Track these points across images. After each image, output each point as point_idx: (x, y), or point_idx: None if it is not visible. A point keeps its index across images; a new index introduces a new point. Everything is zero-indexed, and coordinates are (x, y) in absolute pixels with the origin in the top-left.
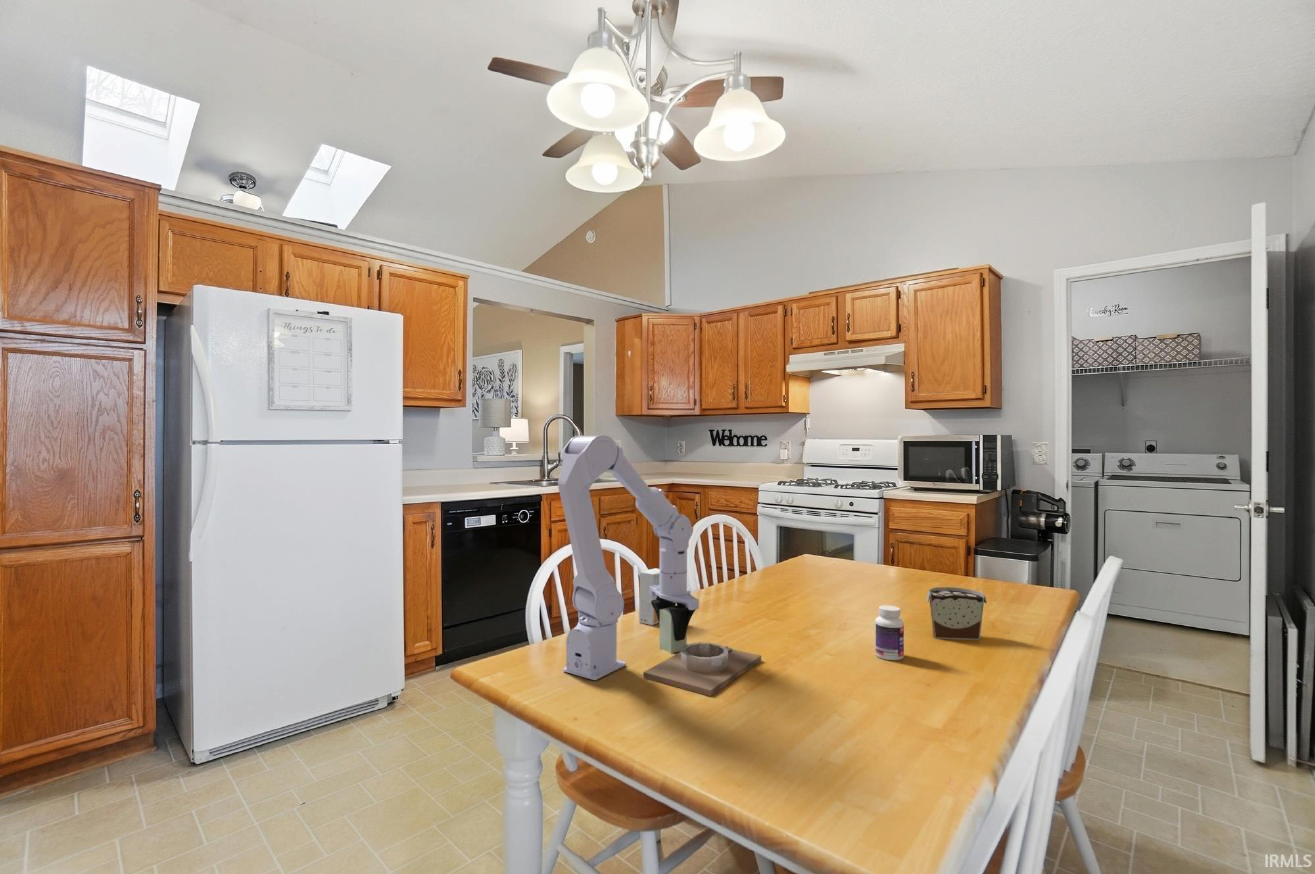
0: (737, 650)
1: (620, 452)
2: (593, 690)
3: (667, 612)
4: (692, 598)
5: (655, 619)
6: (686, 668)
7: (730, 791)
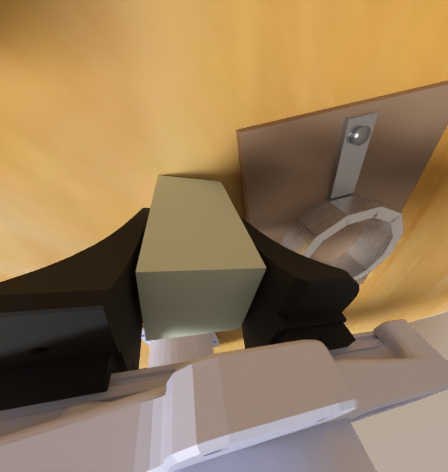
0: (390, 98)
1: None
2: (236, 343)
3: (212, 331)
4: (406, 379)
5: None
6: None
7: None
